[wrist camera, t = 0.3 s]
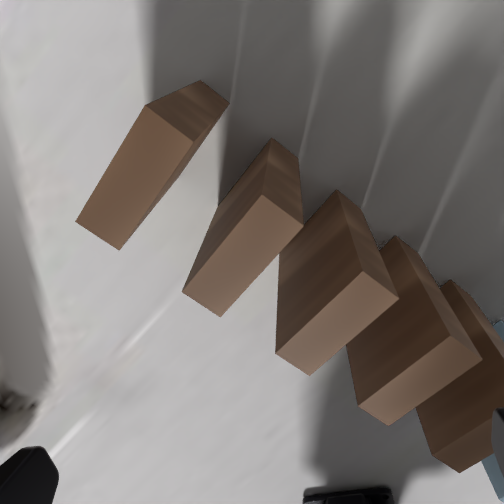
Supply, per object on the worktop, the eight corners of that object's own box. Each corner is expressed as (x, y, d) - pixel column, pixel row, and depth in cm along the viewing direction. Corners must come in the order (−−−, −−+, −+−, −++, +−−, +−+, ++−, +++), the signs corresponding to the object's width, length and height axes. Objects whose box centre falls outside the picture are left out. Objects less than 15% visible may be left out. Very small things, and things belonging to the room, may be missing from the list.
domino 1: (229, 103, 19) (193, 142, 12) (177, 177, 20) (119, 250, 13) (200, 80, 18) (145, 105, 11) (150, 157, 20) (75, 221, 13)
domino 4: (418, 253, 21) (482, 359, 14) (357, 307, 23) (388, 426, 16) (395, 235, 21) (450, 335, 14) (336, 291, 23) (357, 405, 16)
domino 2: (298, 158, 20) (304, 226, 12) (242, 225, 21) (220, 317, 14) (271, 137, 19) (261, 194, 12) (217, 206, 21) (181, 291, 14)
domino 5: (471, 295, 22) (556, 416, 15) (408, 344, 24) (459, 473, 17) (450, 279, 22) (528, 394, 15) (388, 330, 24) (432, 455, 17)
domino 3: (360, 208, 20) (399, 298, 13) (302, 268, 22) (309, 375, 15) (336, 189, 20) (362, 271, 13) (279, 251, 22) (275, 353, 15)
